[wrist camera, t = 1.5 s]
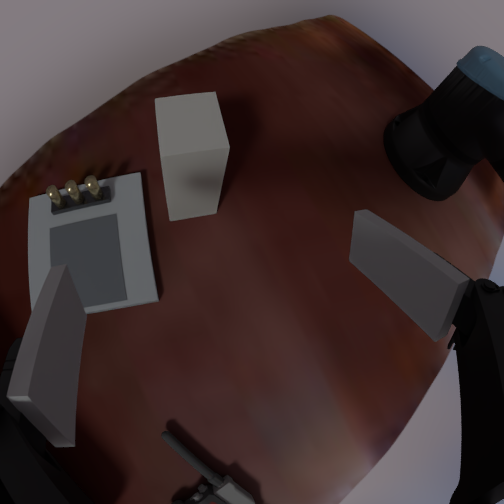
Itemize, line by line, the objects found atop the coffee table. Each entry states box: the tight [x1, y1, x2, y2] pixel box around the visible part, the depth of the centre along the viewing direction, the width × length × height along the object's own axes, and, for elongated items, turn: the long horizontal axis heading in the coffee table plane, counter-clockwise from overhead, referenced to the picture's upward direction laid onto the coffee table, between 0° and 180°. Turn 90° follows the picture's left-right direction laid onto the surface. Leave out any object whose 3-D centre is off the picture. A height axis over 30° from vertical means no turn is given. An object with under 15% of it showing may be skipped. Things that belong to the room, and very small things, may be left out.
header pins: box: [46, 175, 111, 215], centre depth 27 cm, size 7×2×4 cm, turn 104°
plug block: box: [155, 92, 230, 221], centre depth 27 cm, size 5×6×12 cm
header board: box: [28, 172, 159, 314], centre depth 28 cm, size 14×14×1 cm
